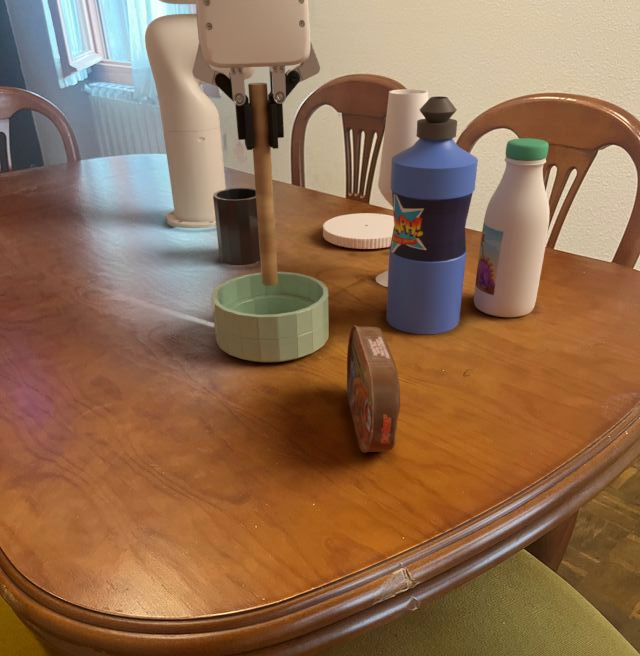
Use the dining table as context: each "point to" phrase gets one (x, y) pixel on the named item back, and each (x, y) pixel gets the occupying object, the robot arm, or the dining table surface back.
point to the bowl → (271, 317)
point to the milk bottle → (514, 234)
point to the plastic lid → (360, 230)
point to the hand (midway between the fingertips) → (261, 145)
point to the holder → (237, 226)
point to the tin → (372, 389)
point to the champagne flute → (398, 138)
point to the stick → (263, 182)
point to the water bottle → (429, 225)
